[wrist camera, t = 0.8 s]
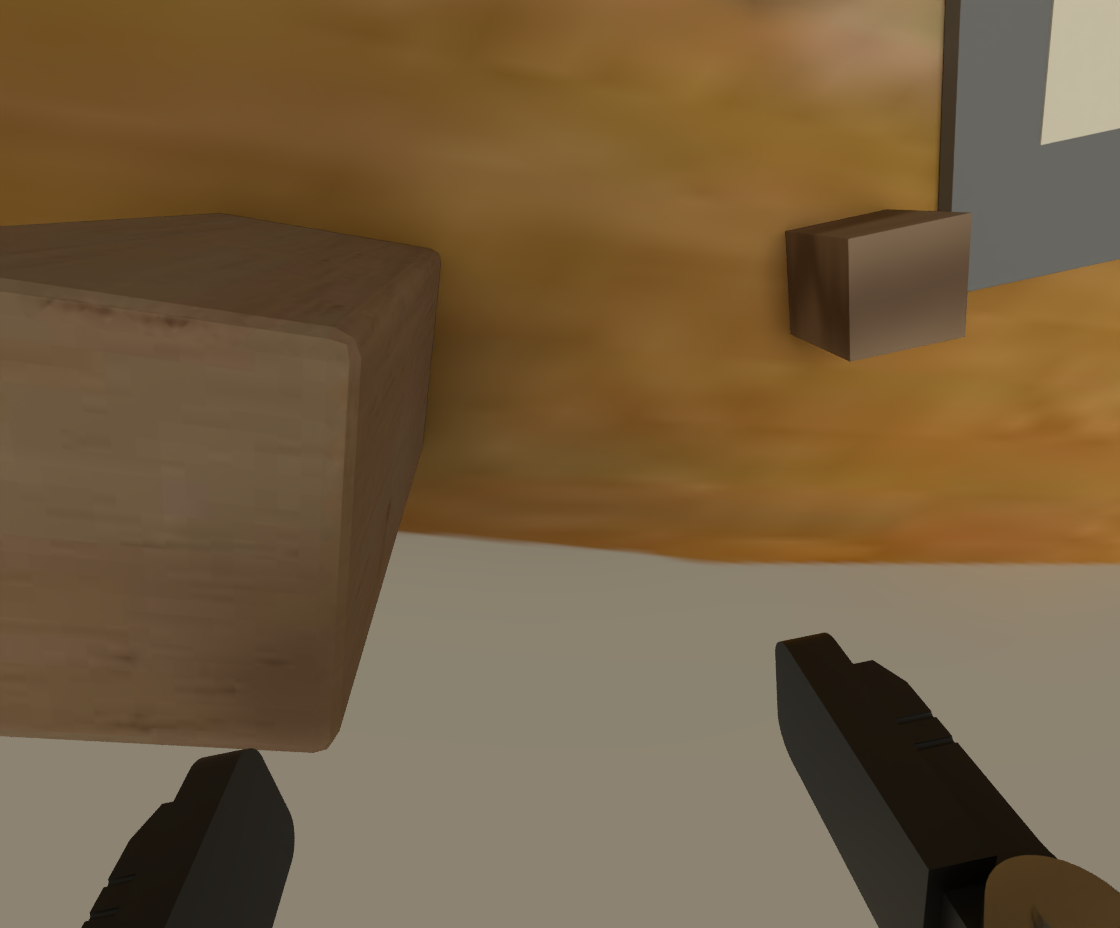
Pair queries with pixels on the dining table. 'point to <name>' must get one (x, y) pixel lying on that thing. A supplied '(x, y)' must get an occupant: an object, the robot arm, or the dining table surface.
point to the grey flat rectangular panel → (1032, 134)
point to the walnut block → (879, 281)
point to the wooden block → (201, 473)
